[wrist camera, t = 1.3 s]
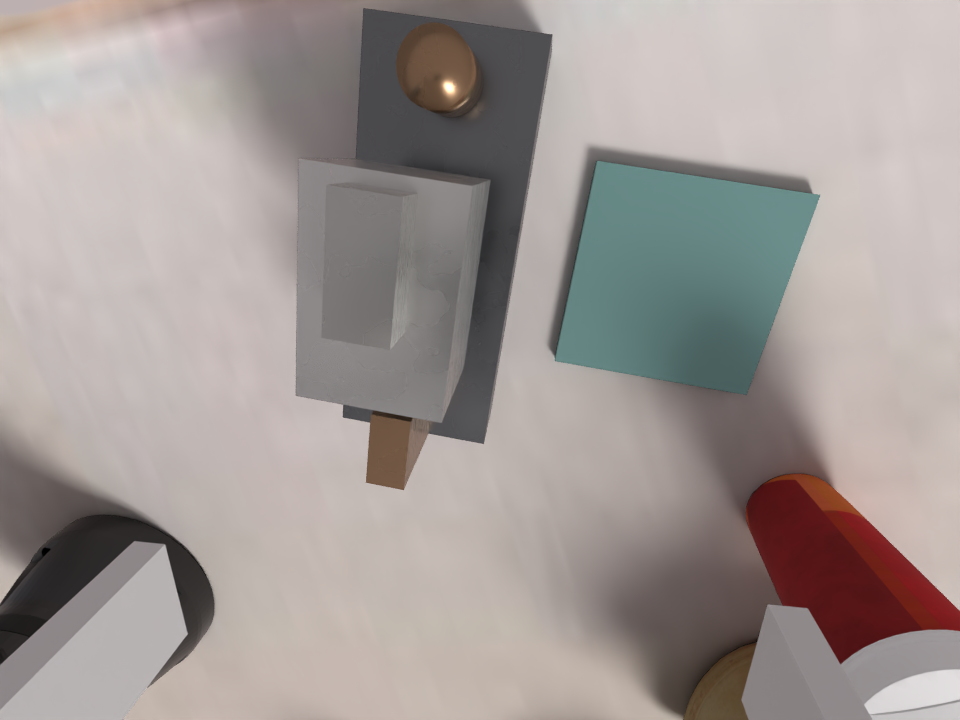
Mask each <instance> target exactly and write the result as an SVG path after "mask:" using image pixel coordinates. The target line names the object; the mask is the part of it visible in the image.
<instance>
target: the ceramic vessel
mask: <svg viewBox="0 0 960 720" xmlns="http://www.w3.org/2000/svg"><path fill="white" fill-rule="evenodd" d="M756 645H757V642H756V643H753V644H749V645H745V646H742V647H740V648H738V649H736V650H735V651H733V652H731V653H729V654H727V655H726V656H724V657H723V658H722V659H720V660H719V661H718V662H717V663H716V664H714V665H713V666H712V668H711V669H710V670H709V671H708V672H707V673H706V674H705V675H704V676H703V678H702V679H701V680H700V682H699V683H698V685H697V687H696V688H695V690H694V692H693V694H692V696H691V698H690V701H689V703H688V706H687V709H686V712H685V715H684V719H683V720H748V717H747V714H746V711H745V708H744V706H743V703H742V700H741V699H742V696H743V692H744V688H745V685H746V681H747V678H748V674H749V670H750V667H751V663H752V659H753V656H754V652H755V648H756Z"/></svg>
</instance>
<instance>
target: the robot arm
mask: <svg viewBox="0 0 960 720" xmlns="http://www.w3.org/2000/svg"><path fill="white" fill-rule="evenodd" d="M213 616H214V597H213V593H212V589H211V587H210V584H209V582H208V580H207V578H206V576H205V574H204V572H203V571H202V569H201V568H200V566H199V565H198V564H197V562H196V561H195V560H194V559H193V558H192V557H191V555H190V554H189V553H188V552H187V551H186V550H185V549H184V548H182V547H181V546H180V545H179V544H178V543H176V542H175V541H174V540H172V539H171V538H170V537H168V536H167V535H165V534H163V533H162V532H160V531H158V530H156V529H155V528H152V527H150V526H148V525H146V524H143V523H141V522H138V521H135V520H132V519H128V518H124V517H118V516H110V515H98V516H90V517H85V518H82V519H79V520H77V521H74V522H73V523H71V524H69V525H68V526H67V527H65V528H64V529H63V530H61V531H60V532H59V533H57V534H56V535H55V536H53V537H52V538H51V539H50V540H48V541H47V542H46V543H45V544H44V545H43V546H42V547H41V548H40V549H39V550H38V551H37V553H36V554H35V555H34V557H33V558H32V560H31V562H30V564H29V565H28V566H27V567H26V569H25V570H24V571H23V572H22V574H21V575H20V576H19V578H18V579H17V580H16V582H15V583H14V585H13V586H12V588H11V589H10V590H9V592H8V593H7V595H6V596H5V597H4V599H3V600H2V602H1V603H0V720H123V719H124V717H125V716H126V715H127V713H128V712H129V711H130V709H131V708H132V707H133V705H134V704H135V703H136V701H137V700H138V699H139V697H140V696H141V695H142V694H143V692H144V691H145V690H146V688H148V687H149V686H150V685H152V684H153V683H154V682H155V681H157V680H158V679H159V678H160V677H162V676H163V675H164V674H165V673H166V672H168V671H169V670H170V669H171V668H172V667H174V666H175V665H177V664H178V663H180V662H181V661H183V660H184V659H185V658H186V657H187V656H188V655H189V654H190V653H191V652H192V651H193V650H194V648H195V647H196V646H197V644H198V643H199V641H200V640H201V639H202V637H203V636H204V635H205V633H206V632H207V630H208V629H209V627H210V625H211V623H212V620H213ZM741 700H742V703H743V706H744V708H745V711H746V714H747V717H748V720H872V718H871V716H870V714H869V713H868V711H867V709H866V708H865V706H864V704H863V702H862V701H861V699H860V697H859V696H858V694H857V692H856V690H855V689H854V687H853V685H852V684H851V682H850V680H849V678H848V677H847V675H846V673H845V671H844V670H843V668H842V666H841V665H840V663H839V661H838V659H837V658H836V656H835V654H834V653H833V651H832V649H831V647H830V646H829V644H828V642H827V641H826V639H825V637H824V635H823V634H822V632H821V630H820V629H819V627H818V625H817V623H816V622H815V620H814V618H813V616H812V615H811V613H810V611H809V610H808V608H799V607H789V606H779V605H769V604H768V605H767V608H766V612H765V616H764V619H763V623H762V627H761V630H760V634H759V638H758V641H757V645H756V648H755V652H754V656H753V659H752V663H751V667H750V670H749V674H748V678H747V681H746V685H745V688H744V692H743V696H742V699H741Z"/></svg>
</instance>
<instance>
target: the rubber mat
mask: <svg viewBox="0 0 960 720" xmlns="http://www.w3.org/2000/svg"><path fill="white" fill-rule="evenodd" d="M819 197H820V195H817V194H810V193H804V192H797V191H791V190H784V189H778V188H771V187H765V186H758V185H752V184H745V183H739V182H732V181H726V180H719V179H713V178H706V177H700V176H693V175H687V174H680V173H674V172H667V171H660V170H654V169H647V168H641V167H634V166H628V165H621V164H615V163H608V162H602V161H596V164H595V169H594V174H593V178H592V183H591V188H590V192H589V197H588V202H587V207H586V211H585V216H584V221H583V226H582V230H581V235H580V240H579V244H578V249H577V254H576V259H575V263H574V268H573V273H572V278H571V282H570V287H569V292H568V297H567V301H566V306H565V311H564V315H563V320H562V325H561V330H560V334H559V339H558V344H557V349H556V353H555V361H558V362H563V363H569V364H574V365H580V366H586V367H591V368H597V369H603V370H608V371H614V372H620V373H625V374H631V375H637V376H642V377H648V378H653V379H659V380H665V381H670V382H676V383H682V384H687V385H693V386H699V387H704V388H710V389H715V390H721V391H727V392H732V393H738V394H744V395H747V392H748V389H749V387H750V384H751V381H752V379H753V376H754V373H755V371H756V368H757V365H758V362H759V360H760V357H761V354H762V352H763V349H764V346H765V343H766V341H767V338H768V335H769V333H770V330H771V327H772V325H773V322H774V319H775V316H776V314H777V311H778V308H779V306H780V303H781V300H782V297H783V295H784V292H785V289H786V287H787V284H788V281H789V279H790V276H791V273H792V270H793V268H794V265H795V262H796V260H797V257H798V254H799V251H800V249H801V246H802V243H803V241H804V238H805V235H806V233H807V230H808V227H809V224H810V222H811V219H812V216H813V214H814V211H815V208H816V205H817V203H818V200H819Z"/></svg>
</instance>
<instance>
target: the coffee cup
mask: <svg viewBox="0 0 960 720" xmlns="http://www.w3.org/2000/svg"><path fill="white" fill-rule="evenodd" d="M746 519H747V523H748V526H749V529H750V532H751V534H752V536H753V539H754V541H755V544H756V546H757V548H758V551H759V553H760V555H761V557H762V560H763V562H764V564H765V567H766V569H767V571H768V573H769V576H770V578H771V580H772V582H773V585H774V587H775V589H776V591H777V594H778V596H779V598H780V600H781V603H782V605H783V606H789V607H799V608H808V610H809V611H810V613H811V615H812V616H813V618H814V620H815V622H816V623H817V625H818V627H819V629H820V630H821V632H822V634H823V635H824V637H825V639H826V641H827V642H828V644H829V646H830V647H831V649H832V651H833V653H834V654H835V656H836V658H837V659H838V661H839V663H840V665H841V666H842V668H843V670H844V671H845V673H846V675H847V677H848V678H849V680H850V682H851V684H852V685H853V687H854V689H855V690H856V692H857V694H858V696H859V697H860V699H861V701H862V702H863V704H864V706H865V708H866V709H867V711H868V713H869V714H870V716H871V718H872V720H960V611H959V610H958V609H957V608H956V607H955V606H954V605H953V604H952V603H951V602H950V601H949V600H948V599H947V598H946V597H945V596H944V595H943V594H942V593H941V592H940V591H939V590H938V589H937V588H936V587H935V586H934V585H933V584H932V583H931V582H930V581H929V580H928V579H927V578H926V577H925V576H924V575H923V574H922V573H921V572H920V571H919V570H918V569H916V568H915V567H914V566H913V565H912V564H911V563H910V562H909V561H908V560H907V559H906V558H905V557H904V556H903V555H902V554H901V553H900V552H899V551H898V550H897V549H896V548H895V547H894V546H893V545H892V544H891V543H890V542H889V541H888V540H887V539H886V538H885V537H884V536H883V535H882V534H881V533H880V532H879V531H878V530H877V529H876V528H875V527H874V526H873V525H872V524H871V523H870V522H869V521H867V520H866V519H865V518H864V517H863V516H862V515H861V514H860V513H859V512H858V511H857V510H856V509H855V508H854V507H853V506H852V505H851V504H850V503H849V502H848V501H847V500H846V499H845V498H843V497H842V496H841V495H840V494H839V493H838V492H837V491H836V490H835V489H834V488H832V487H831V486H830V485H829V484H828V483H826V482H825V481H823V480H821V479H820V478H817V477H815V476H812V475H807V474H786V475H782V476H778V477H775V478H773V479H771V480H769V481H767V482H765V483H764V484H762V485H761V486H760V487H759V488H757V489H756V490H755V492H754V493H753V494H752V495H751V497H750V499H749V501H748V503H747V507H746Z"/></svg>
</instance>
